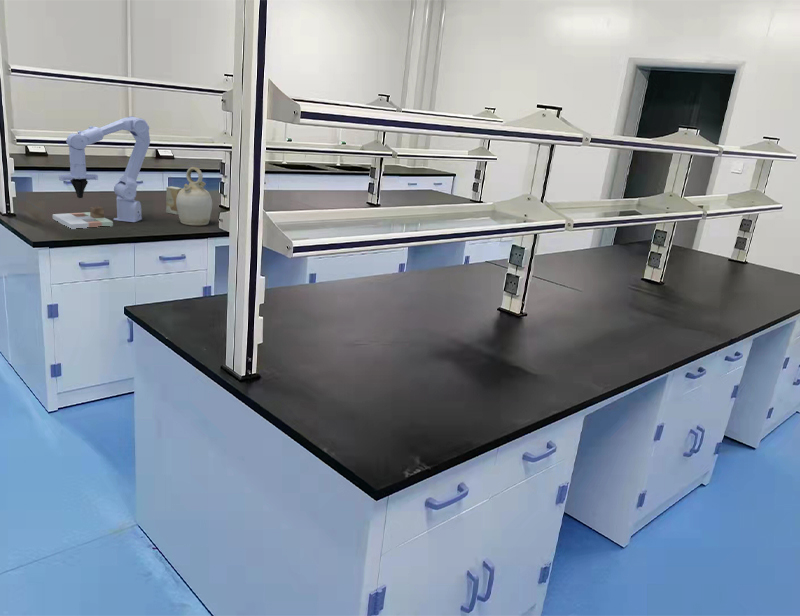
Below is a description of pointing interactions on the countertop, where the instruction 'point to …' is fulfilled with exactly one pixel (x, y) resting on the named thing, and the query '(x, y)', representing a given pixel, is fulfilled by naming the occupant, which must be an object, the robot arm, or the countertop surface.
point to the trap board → (81, 220)
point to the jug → (194, 201)
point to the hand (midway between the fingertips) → (80, 197)
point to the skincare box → (172, 199)
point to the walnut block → (97, 212)
